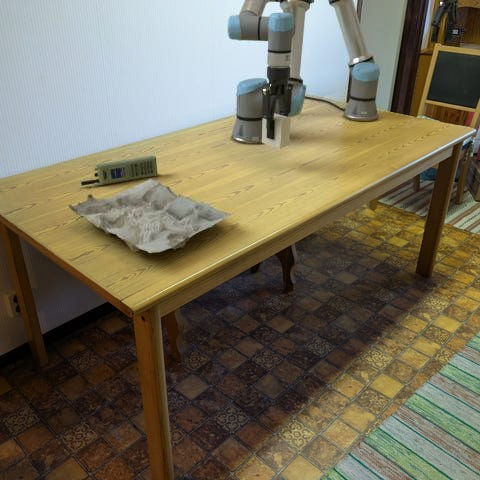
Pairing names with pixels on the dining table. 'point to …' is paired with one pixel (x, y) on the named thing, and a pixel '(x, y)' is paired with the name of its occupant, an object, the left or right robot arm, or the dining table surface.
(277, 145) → the brick
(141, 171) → the handheld radio
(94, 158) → the dining table surface
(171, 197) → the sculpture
